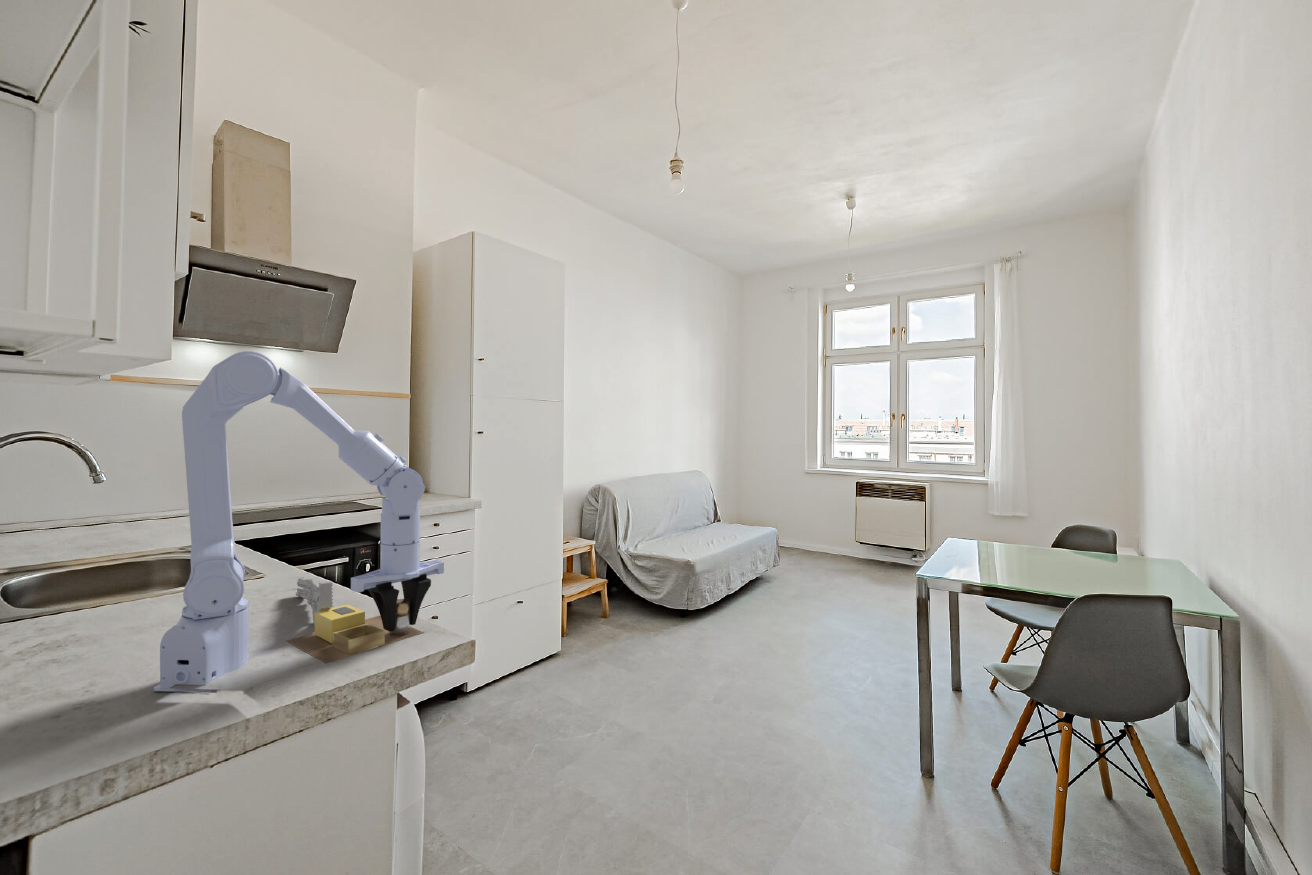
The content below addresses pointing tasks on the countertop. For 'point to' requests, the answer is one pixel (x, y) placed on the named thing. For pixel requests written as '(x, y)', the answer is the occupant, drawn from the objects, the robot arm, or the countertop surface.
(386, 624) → the robot arm
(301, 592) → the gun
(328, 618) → the block
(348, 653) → the board
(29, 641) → the countertop surface
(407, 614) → the silver and brown cylinder
